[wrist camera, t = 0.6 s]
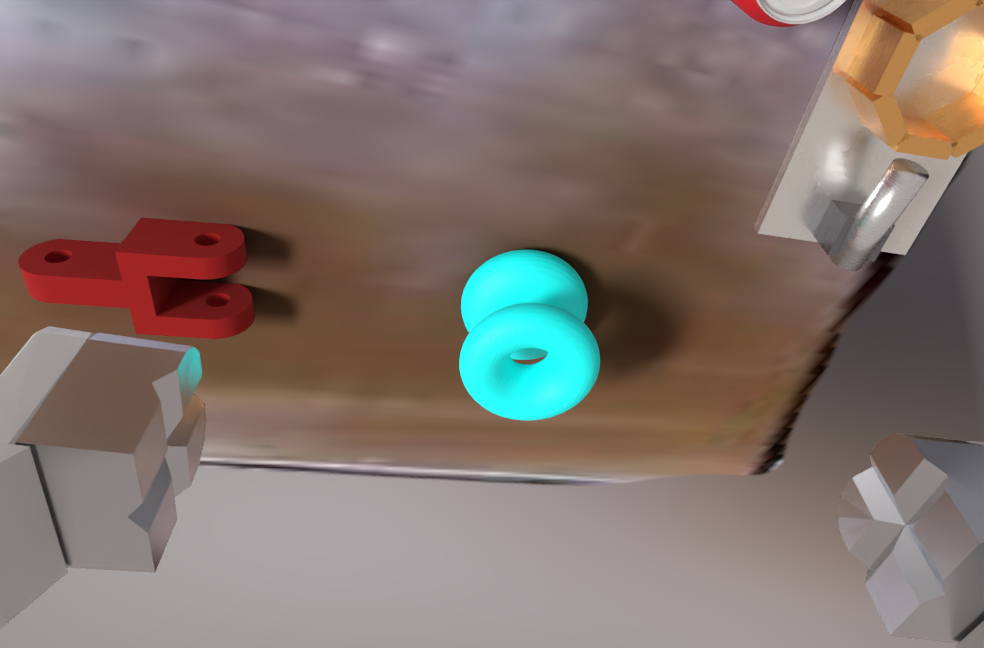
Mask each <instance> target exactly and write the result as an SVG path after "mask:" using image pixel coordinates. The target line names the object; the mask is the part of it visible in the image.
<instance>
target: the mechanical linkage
mask: <svg viewBox="0 0 984 648" xmlns="http://www.w3.org/2000/svg"><path fill="white" fill-rule="evenodd" d="M246 261H247V254H246V246H245V239H244V234H243V232H242V231H241V230H240V229H239V228H237V227H235V226H233V225H230V224H217V223H204V222H191V221H177V220H164V219H151V218H141V219H140V220H139V221H138V223H137V224H136V225H135V226H134V228H133V229H132V230H131V232H130V233H129V234H128V236H127V237H126V238H125V239H124V241H123V242H122V243H121V244H120V243H106V242H92V241H78V240H64V239H57V240H51V241H47V242H43V243H40V244H37V245H35V246H33V247H31V248H29V249H28V250H26V251H25V252H24V253H23V254H22V255H21V256H20V258H19V260H18V264H19V267H20V270H21V272H22V275H23V278H24V281H25V284H26V286H27V289H28V292H29V294H30V295H31V296H32V297H33V298H34V299H36V300H39V301H42V302H47V303H61V304H76V305H91V306H106V307H121V308H130V312H131V316H132V320H133V324H134V327H135V331H136V334H147V335H163V336H179V337H194V338H210V339H219V338H227V337H231V336H234V335H237V334H239V333H241V332H243V331H245V330H246V329H247V328H249V327H250V326H251V324H252V323H253V321H254V317H255V315H254V308H253V300H252V294H251V292H250V291H249V290H248V289H247V288H246V287H244V286H243V285H240V284H232V283H218V282H203V281H189V280H178V278H189V279H217V278H222V277H226V276H229V275H231V274H234V273H235V272H237V271H239V270H240V269H241V268H242V267H243V266H244V265H245V264H246Z"/></svg>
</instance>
